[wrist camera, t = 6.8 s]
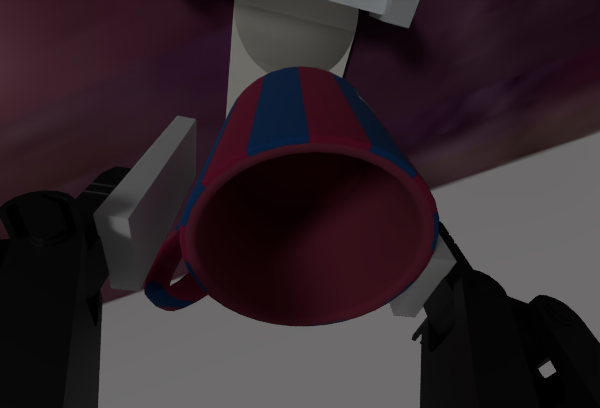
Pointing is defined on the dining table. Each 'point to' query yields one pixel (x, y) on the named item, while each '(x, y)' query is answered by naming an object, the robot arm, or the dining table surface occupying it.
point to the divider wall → (386, 9)
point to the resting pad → (287, 39)
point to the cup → (300, 209)
